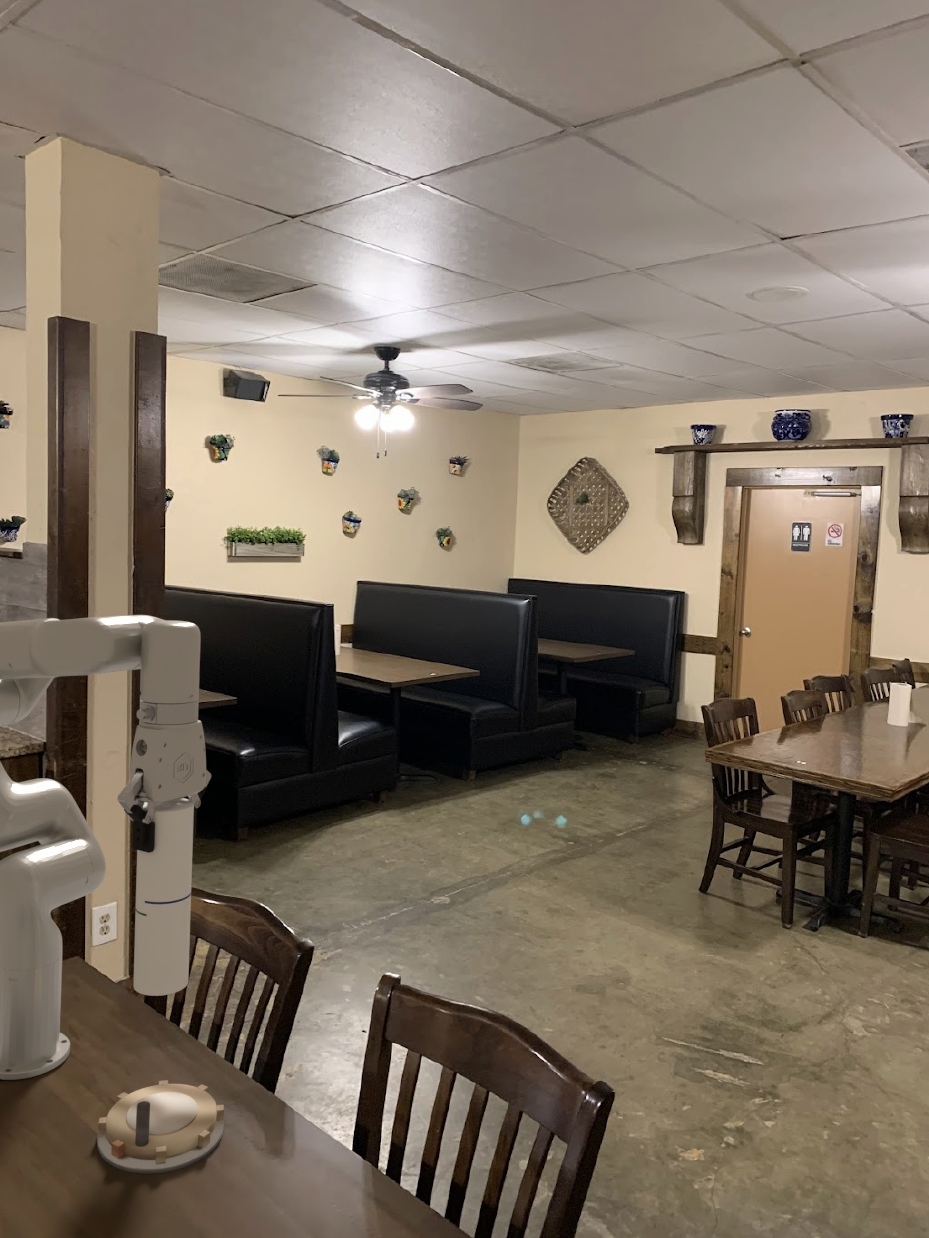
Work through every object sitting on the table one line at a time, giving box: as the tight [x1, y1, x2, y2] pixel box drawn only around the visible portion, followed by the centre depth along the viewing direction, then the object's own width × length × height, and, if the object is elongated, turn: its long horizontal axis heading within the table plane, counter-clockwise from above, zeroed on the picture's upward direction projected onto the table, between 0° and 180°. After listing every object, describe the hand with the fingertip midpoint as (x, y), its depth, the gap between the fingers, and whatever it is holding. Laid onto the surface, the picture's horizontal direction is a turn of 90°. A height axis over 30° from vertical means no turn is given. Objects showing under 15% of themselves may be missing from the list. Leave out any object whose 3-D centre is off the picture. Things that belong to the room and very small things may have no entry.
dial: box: [97, 1079, 225, 1163], centre depth 125 cm, size 15×15×6 cm
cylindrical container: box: [133, 798, 194, 997], centre depth 128 cm, size 7×7×25 cm
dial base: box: [96, 1118, 225, 1175], centre depth 126 cm, size 16×16×1 cm
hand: (165, 841), depth 128 cm, fingers closed on cylindrical container, 7 cm apart
